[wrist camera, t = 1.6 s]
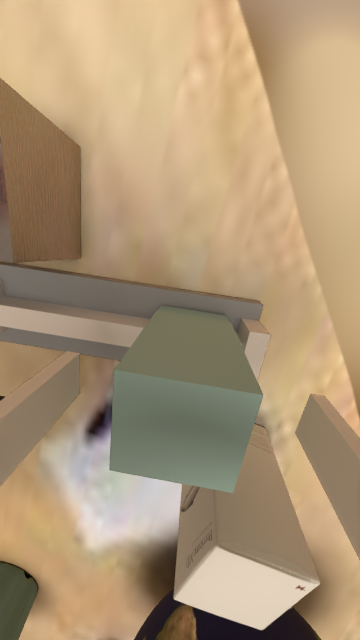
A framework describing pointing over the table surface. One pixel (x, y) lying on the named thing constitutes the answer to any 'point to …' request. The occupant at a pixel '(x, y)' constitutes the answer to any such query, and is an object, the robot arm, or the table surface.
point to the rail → (107, 312)
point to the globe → (216, 625)
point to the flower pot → (14, 600)
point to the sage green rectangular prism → (184, 401)
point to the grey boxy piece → (36, 185)
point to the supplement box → (243, 544)
